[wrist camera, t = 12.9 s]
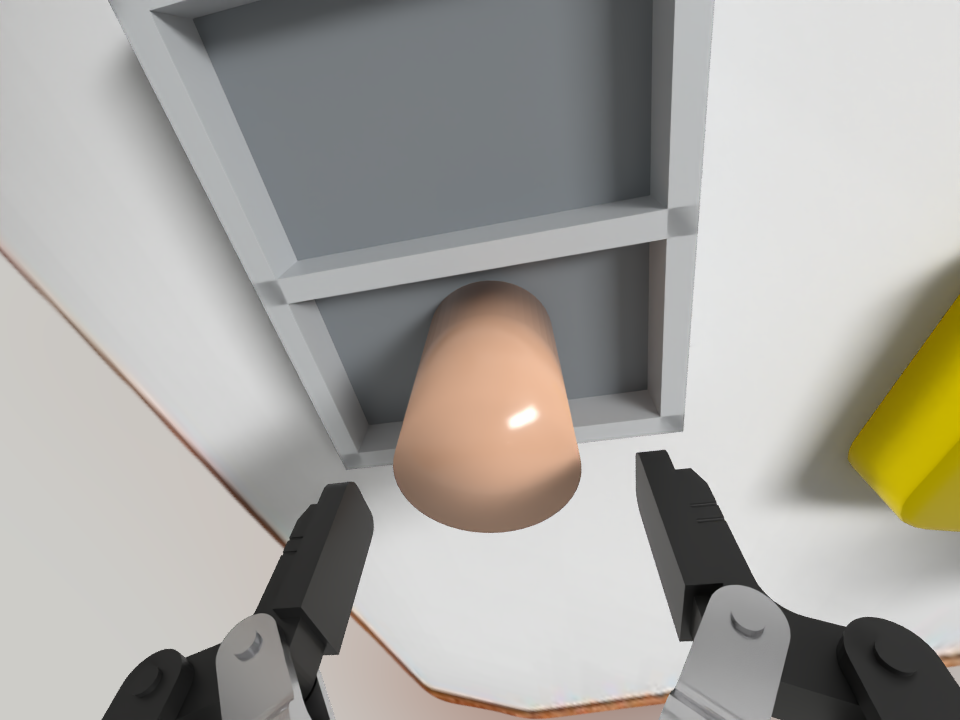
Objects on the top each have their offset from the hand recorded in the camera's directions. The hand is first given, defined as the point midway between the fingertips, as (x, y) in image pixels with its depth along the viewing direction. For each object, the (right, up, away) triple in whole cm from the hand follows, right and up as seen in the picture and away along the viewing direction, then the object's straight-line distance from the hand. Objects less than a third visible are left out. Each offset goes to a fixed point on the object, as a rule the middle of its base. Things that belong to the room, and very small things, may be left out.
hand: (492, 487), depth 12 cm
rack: (-1, +9, +6) cm, 10 cm away
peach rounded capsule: (0, +5, +7) cm, 9 cm away
